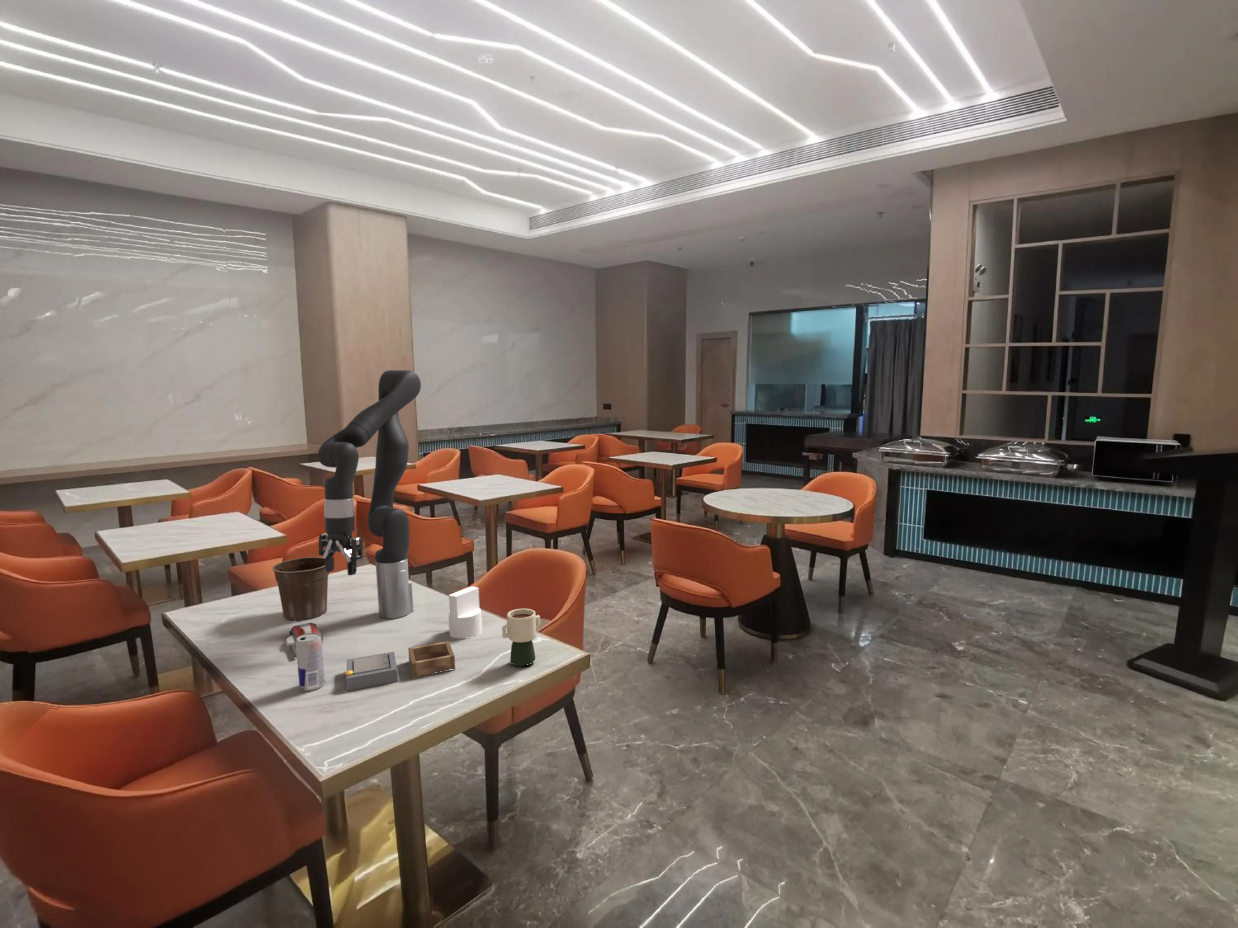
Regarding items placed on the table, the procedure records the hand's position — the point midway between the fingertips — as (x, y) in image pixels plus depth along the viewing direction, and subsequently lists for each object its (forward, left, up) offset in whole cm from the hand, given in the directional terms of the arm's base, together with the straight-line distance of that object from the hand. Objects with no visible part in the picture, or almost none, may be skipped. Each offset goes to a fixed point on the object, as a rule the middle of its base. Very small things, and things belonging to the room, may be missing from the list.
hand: (340, 572), depth 170 cm
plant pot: (-3, -29, -19) cm, 34 cm away
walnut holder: (-3, +34, -19) cm, 39 cm away
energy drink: (+20, +20, -19) cm, 34 cm away
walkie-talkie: (+9, -6, -19) cm, 22 cm away
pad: (+9, +27, -17) cm, 34 cm away
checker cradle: (+9, +27, -19) cm, 34 cm away
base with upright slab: (-22, +24, -19) cm, 38 cm away
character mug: (-17, +52, -19) cm, 58 cm away
